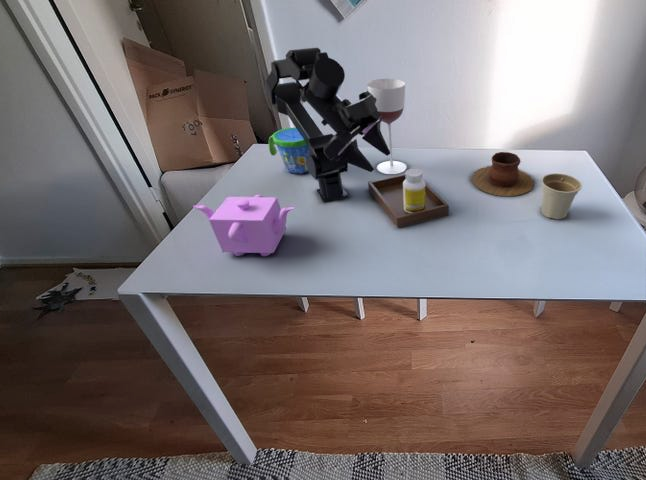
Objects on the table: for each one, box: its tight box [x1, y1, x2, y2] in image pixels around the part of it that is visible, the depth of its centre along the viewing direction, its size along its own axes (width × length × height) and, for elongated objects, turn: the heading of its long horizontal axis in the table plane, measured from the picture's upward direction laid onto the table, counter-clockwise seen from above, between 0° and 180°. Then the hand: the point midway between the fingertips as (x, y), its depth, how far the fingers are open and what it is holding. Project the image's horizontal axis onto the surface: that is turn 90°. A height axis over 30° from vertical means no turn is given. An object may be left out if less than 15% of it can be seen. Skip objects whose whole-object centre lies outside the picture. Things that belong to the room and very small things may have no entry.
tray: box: [367, 173, 450, 229], centre depth 99 cm, size 20×14×3 cm
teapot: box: [192, 194, 296, 257], centre depth 81 cm, size 15×13×11 cm
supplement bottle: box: [403, 168, 426, 213], centre depth 93 cm, size 5×5×10 cm
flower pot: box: [541, 172, 583, 220], centre depth 95 cm, size 9×9×9 cm
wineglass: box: [367, 78, 407, 175], centre depth 107 cm, size 9×10×23 cm
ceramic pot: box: [470, 151, 535, 197], centre depth 108 cm, size 18×18×7 cm
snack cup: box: [268, 126, 309, 175], centre depth 109 cm, size 16×10×10 cm
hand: (381, 162), depth 89 cm, fingers open, 9 cm apart
